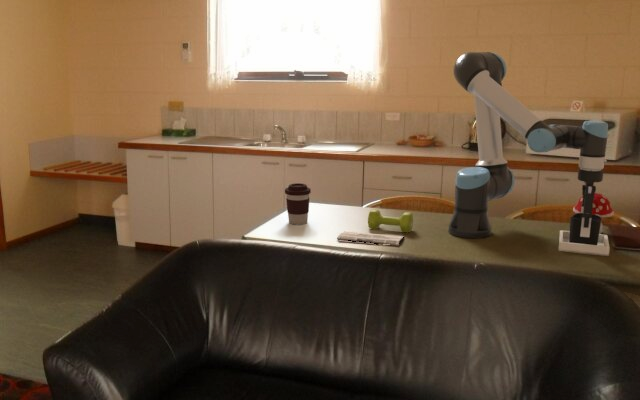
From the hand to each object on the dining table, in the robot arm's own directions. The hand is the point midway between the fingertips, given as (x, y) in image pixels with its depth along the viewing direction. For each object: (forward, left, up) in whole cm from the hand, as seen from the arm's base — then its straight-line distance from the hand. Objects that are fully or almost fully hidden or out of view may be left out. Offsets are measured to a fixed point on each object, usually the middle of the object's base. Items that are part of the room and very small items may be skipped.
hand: (584, 231), depth 197 cm
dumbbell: (-66, -4, -6) cm, 66 cm away
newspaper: (-68, -19, -6) cm, 71 cm away
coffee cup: (-102, -8, -6) cm, 102 cm away
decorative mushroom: (+3, +19, -6) cm, 20 cm away
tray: (0, 0, -6) cm, 6 cm away
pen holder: (0, 0, -5) cm, 5 cm away
